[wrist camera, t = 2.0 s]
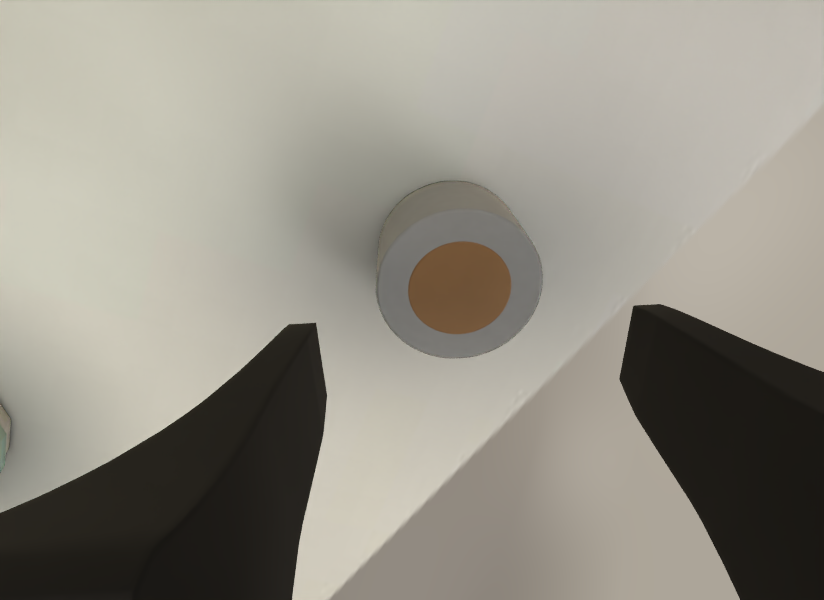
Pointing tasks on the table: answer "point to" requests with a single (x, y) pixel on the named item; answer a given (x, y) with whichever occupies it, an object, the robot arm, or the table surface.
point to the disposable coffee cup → (4, 435)
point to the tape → (456, 271)
